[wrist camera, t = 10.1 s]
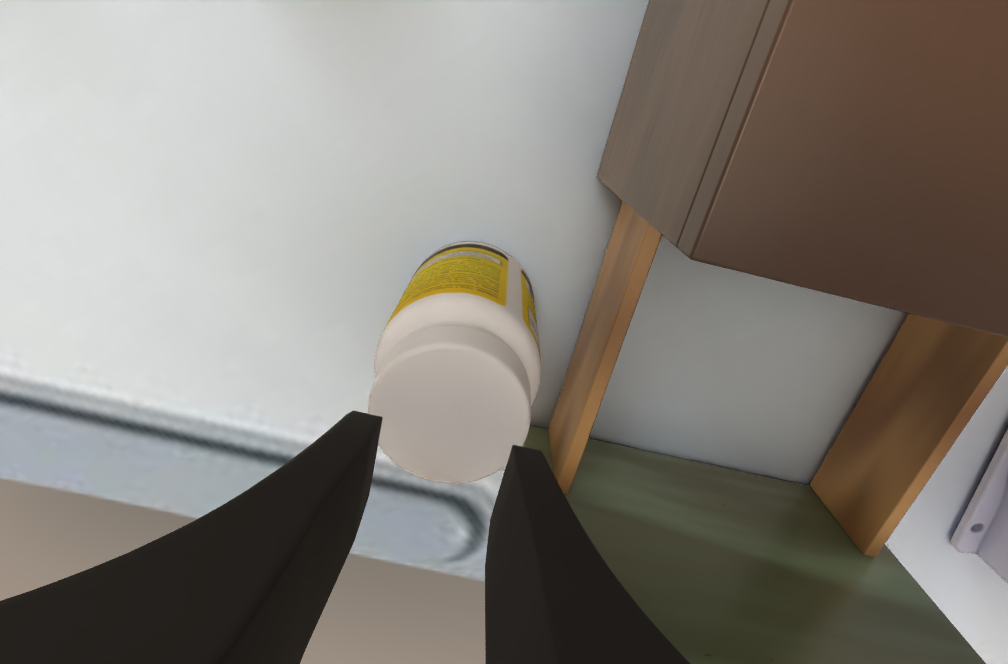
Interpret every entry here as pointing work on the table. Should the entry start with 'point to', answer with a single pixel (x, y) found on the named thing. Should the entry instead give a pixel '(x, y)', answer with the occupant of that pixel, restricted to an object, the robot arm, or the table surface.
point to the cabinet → (827, 146)
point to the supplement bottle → (458, 366)
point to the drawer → (771, 500)
